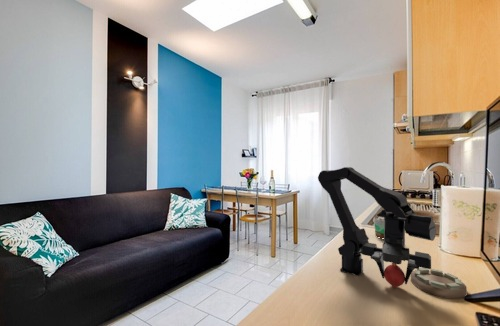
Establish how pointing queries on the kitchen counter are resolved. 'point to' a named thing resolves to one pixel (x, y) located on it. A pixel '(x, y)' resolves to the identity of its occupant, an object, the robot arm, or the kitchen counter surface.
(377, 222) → the food container
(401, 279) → the pomegranate
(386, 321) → the kitchen counter surface
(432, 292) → the display stand
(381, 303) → the kitchen counter surface
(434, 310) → the kitchen counter surface
